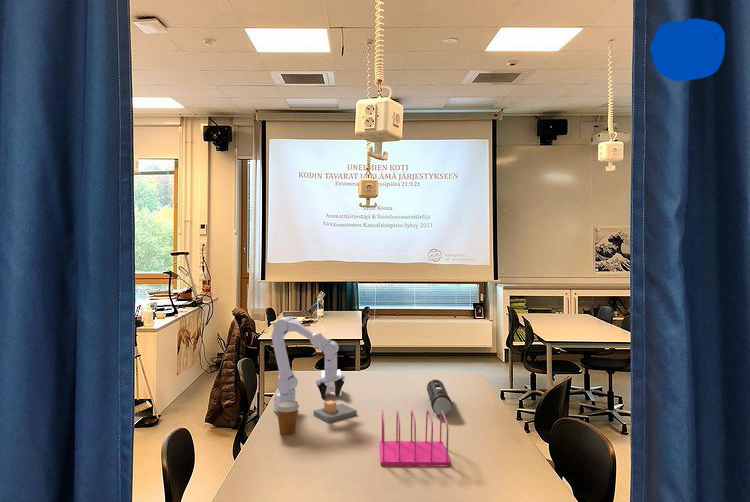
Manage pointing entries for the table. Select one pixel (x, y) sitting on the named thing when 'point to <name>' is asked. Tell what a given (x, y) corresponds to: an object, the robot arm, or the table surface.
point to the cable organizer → (331, 383)
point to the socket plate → (336, 413)
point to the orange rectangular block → (329, 407)
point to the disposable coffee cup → (287, 416)
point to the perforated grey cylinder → (439, 397)
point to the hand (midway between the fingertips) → (330, 397)
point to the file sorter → (414, 447)
